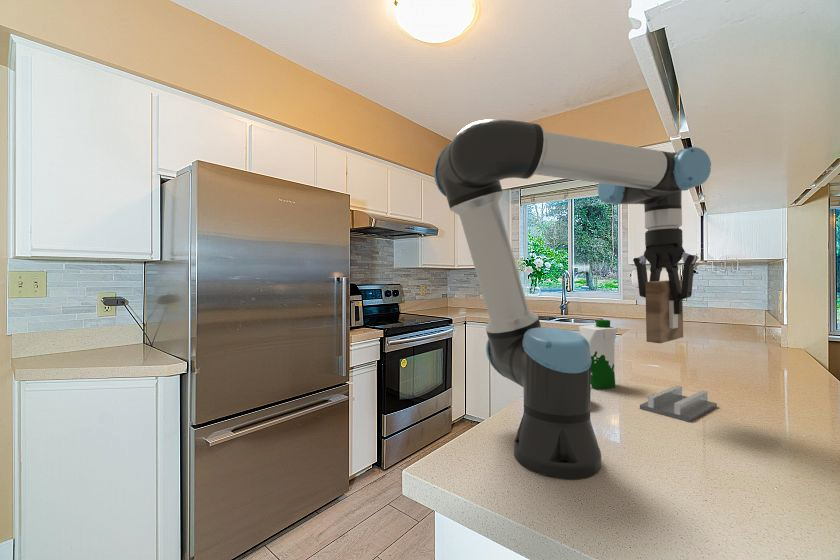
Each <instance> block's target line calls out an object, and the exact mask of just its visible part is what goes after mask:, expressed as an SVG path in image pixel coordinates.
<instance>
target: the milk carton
mask: <svg viewBox="0 0 840 560" xmlns="http://www.w3.org/2000/svg"><path fill="white" fill-rule="evenodd" d="M578 328H579V334H580V335H582V336H583V337H584V338H586V339H587V341H588V343H589V345H590V354H591V359H592V363H591V385H592V389H594V388H595V390H602V389H612V388H616V375H615V342H616V335H617V331H618V327H614V326H613V327H612V326H611V320H610V319H595V325H584V326H582V325H579V326H578Z"/></svg>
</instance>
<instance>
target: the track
mask: <svg viewBox="0 0 840 560" xmlns="http://www.w3.org/2000/svg"><path fill="white" fill-rule="evenodd" d="M708 394H709V393H708V391H707V390H700V391H698V392H695V393H694V394H691V395H689V396H687V395H683V386H682V385H674V386H672V387H669V388H667V389H665V390H662V391H659V392H656V393H655V394H652V395H650V396H648V398H647V399H648V400H647V401H645V402H643V403H640V404H639V409H640V410H643V411H646V412H652V413H655V414H658V415H662V416H666V417H669V418H673V419H677V420H681V421H685V422H689V423H691V422H693V421H695V420H696V419H698V418H700V417H702V416H704V415H705V414H708V413H709V412H710V411H712V410H714V409H716V408H717V407H718V403H717V402H714V401H713V402H712V401H709V400H708V399H709V398H708Z"/></svg>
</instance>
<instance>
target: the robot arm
mask: <svg viewBox="0 0 840 560" xmlns="http://www.w3.org/2000/svg"><path fill="white" fill-rule="evenodd" d="M434 165H435V166H434V171H433V172H434V173H433V177H434V182H435V185H436V187H437V189H438V191H439V192H440V193H441V194H442V195H443V196H444V197H446V201H447V203H448V206H449V209H450V211H451V212H453V213H454V214H456V215H457V216H459V219H460V222H461V226H462V229H463V232H464V236H465V240H466V243H467V245H468V250H469V252H470V256H471V258H472V259H471V260H472V263H473V267H474V270H475V273H476V276H477V280H478V285H479V287H480V289H481V294H482V298H483V300H484V303H485V306H486V307H485V308H486V310H487V314H488V316H489V318H488V319H489V321H488V323H487V325H486V327H485V331H486V334H487V341H486V345H485V351H486V352H485V353H486V357H487V360H488V361H489V364H490V365H491V366H492V367H493V369H494V371H496V372H498V373H499V374H500V375H501V376H502V377H504V378H506V379H508V380H510V381H512V382H514V383H516V384H517V385H518V386H520V387H522V388H523V414H522V417H521V421H520V423H519V426H518V429H517V432H516V435H515V438H514V442H513V444H514V445H513V447H514V448H513V450H514V451H513V454H514V457H515V460H517V462H518V463H519V464H521V465H522V466H523V467H525V468H527V470H530V471H532V472H535V473H537V474H540V475H543V476H547V477H551V478H557V479H564V480H567V479H568V480H578V479H579V480H581V479H586V478H590V477H593V476H594V475H596V474H598V473H599V472H600V471H601V468H602V452H601V449H600V447H599V443H598V440H597V437H596V434H595V431H594V427H593V425H592V421H591V391H592V389H591V363H592V359H591V354H590V345H589V343H588V341H587V339H586V338H584V337H583V336H582V335H580V333H578V332H576V331H571V330H568V329H561V328H558V327H548V326H547V327H543V326H542V325H541V322H540V319H539V316H538V315H539V314H537V313H535V312H533V311H532V310H530V309H529V307H528V302H527V299H526V296H525V293H524V288H523V285H522V282H521V278H520V275H519V271H518V267H517V265H516V261H515V258H514V257H515V256H514V253H513V250H512V246H511V243H510V240H509V236H508V233H507V228H506V225H505V222H504V219H503V216H502V215H503V214H502V211H501V207H500V205H499V204H500V203H499V202H500V199H501V198H502V196H503V194H504V192H503V191H504V190H503V188H502V185H501V180H505V179H513V178H514V179H524V180H529V179H531V178H532V177H533V176H534V175H536V176H537V175H538V176H544V177H552V178H558V179H567V180H574V181H580V182H581V181H582V182H588V183H589V182H590V183H596V184H597V183H598V185H597V188H598V189H597V195H598V197H599V199H600V201H602V202H603V203H604V204H609V205H615V206H617V205H643V207H644V208H643V209H644V228H645V230H647V231H645V233H644V237H645V238H644V243H645V244H644V246H645V250H644V252H643V254H642V255H640V256H639V257H634V258H633V260H632V261H633V263H634V265H635V267H636V275H637V276H636V277H637V284H638V293H639V297H641V298H645V299H646V290H645V282H653V281H661V273H662V271H663V269H664V268H665V270H666V273H667V276H668V280H669V282H670V288H671V293H672V298H671V301H669V328H671V329H674V328H678V314H681V313H682V300H685V299H688V298H689V299H690V298H691V297H692V294H693V293H692V292H693V281H694V280H693V279H694V271H695V264H696V263H697V260H698V258H699V257H698V255H696V254H690V253H687V252H686V251H685V248H684V247H683V242H684V241H683V230H682V228H680V227H682V226H683V208H682V204H683V203H682V200H683V199H682V194H683V193H682V191H688V190H690V189H693V188H696V187H699V186H701V185H703V184H704V183H705V182H707V180H708V178H709V177H710V175H711V171H712V170H711V167H712V161H711V158H710V157H709V154H708V153H707V152H706V151H705V150H703V148H700V147H696V146H695V147H694V146H693V147H691V146H690V147H688V148H682V149H679V150H677V151H675V152H671V151H664V150H657V149H651V148H646V147H645V148H644V147H641V146H640V147H639V146H635V145H634V146H633V145H627V144H621V143H615V142H609V141H604V140H598V139H597V140H596V139H590V138H585V137H579V136H572V135H567V134H562V133H561V134H560V133H556V132H550V131H545V130H544V127H543V126H542V125H541V124H539V123H534V122H526V121H522V120H521V121H520V120H512V119H499V118H497V119H494V118H492V119H490V118H489V119H483V120H477V121H474V122H471V123H469V124H467V125H466V126H464V127H463V128H462V129H460V131H458V132H457V134H456V135H455V137H454V138H453V139H452V140H451V142H450V143H449V144H448V145H446V146H445V147H444V148H443V150H441V152H440V154H439V155H438V158H437V160H436V163H435V164H434ZM681 259H682V262H683V268H682V270H683V271H682V279H680V276H679V266H678V263H680V261H681ZM647 262H648V263H649V264H650V268H649V270H650V275H649V281H648V273H647V272H648V271H647V266H646V265H647V264H646V263H647ZM680 280H682V291H681V286H680Z"/></svg>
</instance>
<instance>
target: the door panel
mask: <svg viewBox="0 0 840 560" xmlns="http://www.w3.org/2000/svg"><path fill="white" fill-rule="evenodd" d="M679 280H680V286H681V291H682V279H679ZM645 290H646V298H645V326H646V327H645V328H646V329H645V330H646V331H645V332H646V335H645V336H646V337H645V338H646V343H654V344H663V343H668V342H671V341H674V340H678V339H682V338H684V310H683V309H684V308H683V307H684V306H683V302H684V301H683V300H684V299H683V300H682V313H681V314H678V328H674V329H671V328H669V301H671V298H672V293H671V288H670V282H669V279H668V280H659V281H653V282H649V281H648V282H645Z"/></svg>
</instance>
